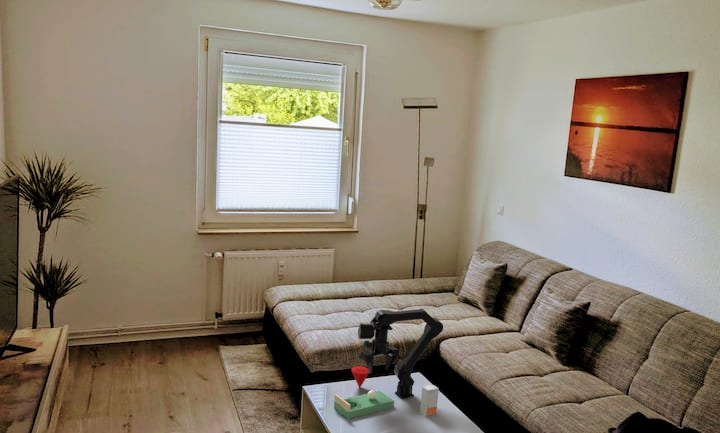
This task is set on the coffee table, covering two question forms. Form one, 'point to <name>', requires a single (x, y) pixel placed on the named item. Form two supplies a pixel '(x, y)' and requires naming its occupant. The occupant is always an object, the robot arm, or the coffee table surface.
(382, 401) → the putting mat
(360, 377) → the gemstone
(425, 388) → the skincare box
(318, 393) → the coffee table surface
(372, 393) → the ball
